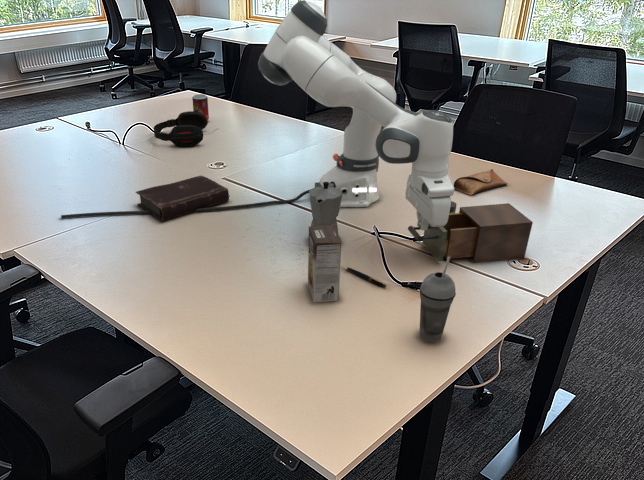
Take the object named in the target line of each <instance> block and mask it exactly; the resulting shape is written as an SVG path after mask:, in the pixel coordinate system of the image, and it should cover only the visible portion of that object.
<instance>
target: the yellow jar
mask: <svg viewBox="0 0 644 480" xmlns="http://www.w3.org/2000/svg"><path fill="white" fill-rule="evenodd" d="M457 206H458V204H457V203H456V202H455V201H453V200H451V206H450V212H449V214H453V213H457Z"/></svg>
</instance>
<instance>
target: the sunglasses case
mask: <svg viewBox="0 0 644 480" xmlns="http://www.w3.org/2000/svg"><path fill="white" fill-rule="evenodd" d="M507 185H508V183H507V182H506V181H504V179H502V177H500V176H499V175H498V174H497V173H496V172H495V170H494V169H493V168H492V169H489V170H487V171H481V172H478V173H474V174H470V175H467V176H461V177H459V178H457V179H455V181H454V182H453V187H454V191H457V192H460V193H462V194H466V195H468V196H473V195H475V194H478V193H482V192H486V191H489V190H494V189H497V188H500V187H504V186H507Z"/></svg>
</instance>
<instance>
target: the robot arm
mask: <svg viewBox="0 0 644 480" xmlns="http://www.w3.org/2000/svg"><path fill="white" fill-rule="evenodd" d="M327 28H328V19H327V17H326V15H325V13H324V11H323V10H322V9H321V7H319V5H317V4H315V3H314V2H311V1H307V0H299V1H297V2H296V3H295V4H294V5H293V6H292V7H291V8H290V11H289V12H288V14H287V15H286V16H285V17H284V18H283V19H282V21H281V22H280V23H279V24H278V25H277V27H276V29H275V31H274V33H273V35H272V36H271V38H270V40H269V41H268V43H267V44H266V47H265V49H264V50H263V52H261V53H260V55H259V59H258V61H257V66H258V70H259V72H260V73H261V74H262V76H263V77H264V79H266V80H267V81H268V82H269V83H271V84H274V85H277V86H280V87H281V86H285V85H288V84H289V83H292V82H293V81H294V82H295V83H296V85H298V87H300V88H301V89H302V90H303V92H305V93H306V94H307V95H309V97H310V98H312V99H313V100H314V101H316V102H317V103H319V104H321V105H322V106H325V107H327V108H338V107H339V108H340V107H348V108H351V109H352V115H351V119H350V122H349V124H348V126H346V127H345V129H344V132H343V147H342V153H341V155H339V154H338V153H334V154H333V155H332V160H334V161H335V162H336V165H335V166H334V167H333V168H331V169H330V170H329V171H327V172H325V173H324V174H323V175H322V176H321V177H320V178H319V181H318V182H314V187H312V188H310V189H307V190H305V191H303V192H301V193H300V194H298V195H297V196H296V197H294V198H291V199H284V200H282V199H281V200H270V201H262V202H254V203H245V204H237V205H225V206H216V207H215V206H214V207H213V206H212V207H206V208H199V209H196V210H195V211H193V212H192V213H197V212H213V211H224V210H225V211H226V210H236V209H242V208H243V209H245V208H252V207H253V208H254V207H260V206H269V205H274V204H275V205H276V204H277V205H278V204H291V203H295V202H297V201H299V200H300V199H301V198H302V197H303V196H305V195H307V194H309V190H312V189H314V188H316V187H324V186H323V182H329V183H330V182H332V181H333V182H335V185H336V188H337V189H340V190H341V192H342V194H343V195H342V199H341V204H340V208H368V207H369V206H370V205H371V204H373V203H375V202H377V201H378V200H379V199H380V193H379V188H378V187H379V186H378V172H379V166H380V159H381V160H382V161H384V162H385V163H387V164H390V165H391V164H395V165H396V164H397V165H401V164H403V165H404V164H411V172H410V174H409V175H408V178H407V180H406V181H407V182H406V186H405V199H406V200H407V201H408V202H409V203H410V205H411V206H412V207H413V208H414V209H415V210H416V218H417V224H416V225H417V227H419V228H420V230H421V231H424V230H427V229H428V224H430V225H431V226H432V227H441V226H445V225H446V223H447V221H448V217H449V212H450V206H451V201H452V199H451V198H452V197H451V196H454V194H455V189H454V184H453V183H452V181H451V177H450V174H449V168H450V163H449V158H450V156H451V153H452V149H453V141H454V140H453V139H454V122H453V119H452V118H451V117H450V115H449V114H447V113H445V112H443V111H440V110H435V109H426V110H423V111H421V113H418V112H416V111H413V110H409V109H406V108H403V107H402V106H400V105H398V104H397V92H396V90H395V88H394V87H393V86H392V84H391V83H389V82H388V81H387V80H386V79H385V78H382V77H380V76H377V75H375V74H373V73H370V72H368V71H366V70H364V69H363V68H361V67H360V66H359V65H357V64H356V63H355V62H354V61H353V59H351V56H349V55H348V54H347V53H346V52H345V51H343V50H342V49H341V48H339V47H338V46H337V45H336V44H334V43H333V42H332V41H330V40H329V39H328V38H326V37H325V36H324V34H325V32H326V30H327ZM382 127H383V129H382ZM150 213H154V211H153V210H152V211H146V210H126V211H123V210H121V211H102V212H99V211H98V212H84V213H83V212H82V213H72V214H71V213H70V214H61V215H60V218H61V219H68V218H69V219H70V218H81V217H97V216H99V217H100V216H119V215H151V214H150Z"/></svg>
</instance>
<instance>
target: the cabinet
mask: <svg viewBox="0 0 644 480" xmlns="http://www.w3.org/2000/svg"><path fill="white" fill-rule="evenodd" d="M458 213H464V214H465V215H466V216H467V217H468V218H469V219H470V220H471V221H472V222H473V223H474V224H475V225H476V226H477V227H478V228H479V230H478V235H477V240H476V245H475V251H474V256H473V257H468V258H469V260H470V261H471V262H472V263H473V264H476V263H488V262H489V263H490V262H498V261H510V260H522V259H525V257H526V253H527V248H528V245H529V240H530V235H531V231H532V228H533V224H534V223H533V222H534V221H532V220H531V219H530V218H528V217H527V216H526V215H525V214H524V213H522V212H521V211H520V210H519V209H517V208H516V207H514V206H513V205H512V204H511V203H509V202H508V203H495V204H494V203H493V204H483V205H471V206H469V205H468V206H460V207H459V211H458Z"/></svg>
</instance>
